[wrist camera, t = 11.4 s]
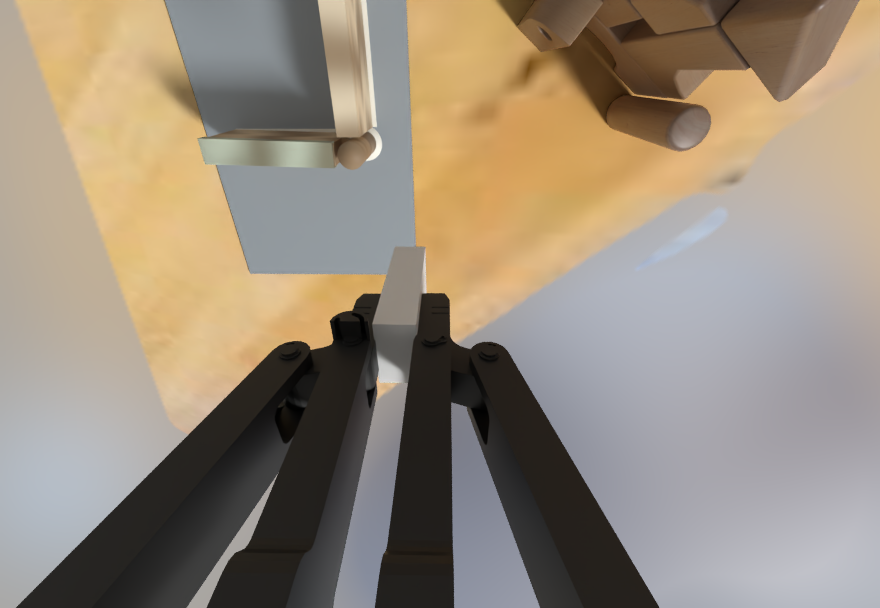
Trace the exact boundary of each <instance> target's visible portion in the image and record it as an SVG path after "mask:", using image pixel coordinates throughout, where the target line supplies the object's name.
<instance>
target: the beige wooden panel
mask: <svg viewBox="0 0 880 608" xmlns="http://www.w3.org/2000/svg"><path fill="white" fill-rule="evenodd" d="M318 5H319V12H320V19H321V27H322V34H323V41H324V48H325V55H326V63H327V70H328V77H329V84H330V91H331V98H332V106H333V113H334V120H335V127H336V134H337V137H352V138H350V139H349V140H347V141H346V142H345V143H343V144H342V145H341V146H340V147H339V149H338V159H339V162H340V163H341V165H342V166H344V167H345V168H347V169H350V170H355V169H358V168H359V167H360V166H361V165H362V164H363V163H364V162H365V161H366V160H367V159H368V158H369V157H370V155H371V154H372V153H373V152H374V151H375V149H376V140H375V138H374V136H373V135H372V134H371V133H369V132H367V131H368V130H370V129H371V128H372V127H373V125H372V114H371V103H370V92H369V81H368V70H367V58H366V47H365V36H364V25H363V14H362V3H361V0H318Z"/></svg>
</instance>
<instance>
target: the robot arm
mask: <svg viewBox="0 0 880 608" xmlns="http://www.w3.org/2000/svg"><path fill="white" fill-rule="evenodd" d="M330 324H331V329H332V334H333V339H334V340H333V343H332V345H329V346H327V347H323V348H318V349H314V350H310V347H309V346H308V344H307V343H304V342H301V341H292V342H287V343H284V344H282V345H279V346H278V347H277V348H275V349H274V350H273V351H272V352H271V353H270V354H269V355H268V356H267V357H266V358H265V359H264V360H263V361H262V362H261V363H260V364H259V365H258V366H257V367H256V368H255V369H254V370H253V371H252V372H251V373H250V374H249V375H248V376H247V377H246V378H245V379H244V380H243V381H242V382H241V383H240V384H239V385H238V386H237V387H236V388H235V389H234V390H233V391H232V392H231V393H230V394H229V395H228V396H227V397H226V398H225V399H224V400H223V401H222V402H221V403H220V404H219V405H218V406H217V407H216V408H215V409H214V410H213V411H212V412H211V413H210V414H209V415H208V416H207V417H206V418H205V419H204V420H203V421H202V422H201V423H200V424H199V425H198V426H197V427H196V428H195V429H194V430H193V431H192V432H191V433H190V434H189V435H188V436H187V437H186V438H185V439H184V440H183V441H182V442H181V443H180V444H179V445H178V446H177V447H176V448H175V449H174V450H173V451H172V452H171V453H170V454H169V455H168V456H167V457H166V458H165V459H164V460H163V461H162V462H161V463H160V464H159V465H158V466H157V467H156V468H155V469H154V470H153V471H152V472H151V473H150V474H149V475H148V476H147V477H146V478H145V479H144V480H143V481H142V482H141V483H140V484H139V485H138V486H137V487H136V488H135V489H134V490H133V491H132V492H131V493H130V494H129V495H128V496H127V497H126V498H125V499H124V500H123V501H122V502H121V503H120V504H119V505H118V506H117V507H116V508H115V509H114V510H113V511H112V512H111V513H110V514H109V515H108V516H107V517H106V518H105V519H104V520H103V521H102V522H101V523H100V524H99V525H98V526H97V527H96V528H95V529H94V530H93V531H92V532H91V533H90V534H89V535H88V536H87V537H86V538H85V539H84V540H83V541H82V542H81V543H80V544H79V545H78V546H77V547H76V548H75V549H74V550H73V551H72V552H71V553H70V554H69V555H68V556H67V557H66V558H65V559H64V560H63V561H62V562H61V563H60V564H59V565H58V566H57V567H56V568H55V569H54V570H53V571H52V572H51V573H50V574H49V575H48V576H47V577H46V578H45V579H44V580H43V581H42V582H41V583H40V584H39V585H38V586H37V587H36V588H35V589H34V590H33V591H32V592H31V593H30V594H29V595H28V596H27V597H26V598H25V599H24V600H23V601H22V602H21V603H20V604H19V605H18V606H17V607H16V608H186V607H187V606H188V605H189V603H190V602H191V600H192V599H193V597H194V596H195V594H196V593H197V591H198V590H199V588H200V587H201V586H202V584H203V582H204V581H205V580H206V578H207V576H208V575H209V574H210V572H211V571H212V569H213V568H214V566H215V565H216V563H217V562H218V561H219V559H220V557H221V556H222V555H223V553H224V552H225V550H226V549H227V547H228V546H229V544H230V543H231V541H232V540H233V538H234V537H235V536H236V534H237V532H238V531H239V530H240V528H241V527H242V525H243V524H244V522H245V521H246V519H247V518H248V516H249V515H250V513H251V512H252V510H253V509H254V508H255V506H256V505H257V503H258V502H259V500H260V499H261V497H262V496H263V494H264V493H265V491H266V490H267V488H268V487H269V486H270V484H271V483H272V481H273V480H274V478H275V477H276V475H277V474H278V475H277V478H276V480H275V483H274V485H273V487H272V490H271V492H270V495H269V497H268V499H267V502H266V504H265V507H264V509H263V512H262V514H261V516H260V519H259V521H258V524H257V526H256V528H255V531H254V533H253V536H252V538H251V540H250V542H249V544H248V545H247V546H246V548H245V549H243V550H241V551H239V552H236V553H235V554H234V555H233V556H232V557H231V559H230V560H229V561H228V563H227V565H226V567H225V569H224V571H223V572H222V575H221V577H220V579H219V581H218V583H217V586H216V588H215V590H214V592H213V595H212V597H211V599H210V602H209V604H208V606H207V608H333V604H334V596H335V591H336V586H337V581H338V577H339V572H340V567H341V563H342V558H343V553H344V548H345V544H346V539H347V534H348V529H349V525H350V520H351V515H352V511H353V506H354V501H355V496H356V491H357V487H358V482H359V477H360V472H361V467H362V463H363V458H364V453H365V449H366V444H367V439H368V435H369V430H370V425H371V420H372V415H373V411H374V406H375V401H376V397H377V384H376V381H377V377H378V376H379V383H408V387H407V395H406V403H405V411H404V418H403V426H402V434H401V442H400V451H399V459H398V466H397V474H396V481H395V490H394V497H393V505H392V513H391V521H390V529H389V537H388V544H387V549H386V551H385V553H384V554H383V558H382V562H381V568H380V574H379V581H378V588H377V596H376V603H375V608H454V573H453V572H454V568H453V545H452V544H453V540H452V539H453V537H452V448H451V447H452V446H451V445H452V442H451V402H453V403H456V404H460V405H463V406H466V407H467V411H468V414H469V416H470V419H471V422H472V424H473V427H474V430H475V432H476V435H477V438H478V441H479V443H480V446H481V449H482V452H483V454H484V457H485V459H486V462H487V465H488V468H489V470H490V473H491V476H492V478H493V481H494V484H495V486H496V489H497V492H498V495H499V498H500V500H501V503H502V506H503V508H504V511H505V514H506V516H507V519H508V522H509V525H510V527H511V530H512V532H513V535H514V538H515V541H516V543H517V546H518V549H519V552H520V554H521V557H522V560H523V562H524V565H525V568H526V571H527V573H528V576H529V579H530V581H531V584H532V587H533V589H534V592H535V595H536V598H537V600H538V603H539V606H540V608H659V606H658V604H657V603H656V601H655V599H654V598H653V596H652V594H651V592H650V591H649V589H648V587H647V586H646V584H645V582H644V581H643V579H642V577H641V576H640V574H639V572H638V571H637V569H636V567H635V566H634V564H633V562H632V560H631V559H630V557H629V555H628V554H627V552H626V550H625V549H624V547H623V545H622V544H621V542H620V540H619V538H618V537H617V535H616V533H615V532H614V530H613V528H612V527H611V525H610V523H609V522H608V520H607V519H606V517H605V515H604V513H603V512H602V510H601V508H600V506H599V505H598V503H597V501H596V500H595V498H594V496H593V495H592V493H591V491H590V489H589V488H588V486H587V484H586V483H585V481H584V479H583V478H582V476H581V474H580V473H579V471H578V469H577V467H576V466H575V464H574V463H573V461H572V459H571V457H570V456H569V454H568V452H567V451H566V449H565V447H564V446H563V444H562V442H561V440H560V439H559V437H558V435H557V434H556V432H555V430H554V429H553V427H552V425H551V424H550V422H549V420H548V419H547V417H546V415H545V413H544V412H543V410H542V408H541V407H540V405H539V403H538V402H537V400H536V398H535V397H534V395H533V393H532V391H531V390H530V388H529V386H528V385H527V383H526V381H525V380H524V378H523V376H522V375H521V373H520V371H519V370H518V368H517V366H516V364H515V363H514V361H513V359H512V358H511V356H510V354H509V353H508V351H507V350H506V349H505V348H504V347H503V346H501V345H499V344H497V343H493V342H482V343H478V344H476V345H475V346H473V347H472V348H471V349H467V348H464V347H461V346H459V345H457V344H456V343H454V342H453V341H452V339H451V337H450V301H449V299H448V297H447V296H446V295H445V293H426V253H425V247H395V248H394V252H393V255H392V258H391V262H390V265H389V269H388V272H387V275H386V279H385V282H384V286H383V289H382V293H381V294H363V295H362V296H361V297H359V298H358V299H357V300H356V303H355V305H354V308H353V310H352V311H346V312H342V313H339V314H337V315H336V316H334V317H333V318H332V319H331V320H330ZM278 472H279V473H278Z"/></svg>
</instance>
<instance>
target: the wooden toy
mask: <svg viewBox="0 0 880 608" xmlns="http://www.w3.org/2000/svg"><path fill="white" fill-rule="evenodd" d="M858 2H859V0H535V1H534V3H533V4H532V6H531V7H530V9H529V10H528V11H527V13H526V14H525V16H524V17H523V19H522V20H521V22H520V23H519V24H518V26H517V27H518V28H519V30H520V31H521V32H522V33H523V34H524V35H525V36H526V37H527V38H528V39H529V40H530V41H531V42H532V43H533V44H534V45H535V46H536V47H537V48H538V49H539V50H540V51H541V52H543V51H548V50H553V49H558V48H563V47H568V46H570V45H571V44H572V43H573V42H574V40H575V39H576V38H577V36H578V35H579V34H580V33H581V31H582V30H583V29H584V28H585V27H586V28H587V29H589V30H590V31H591V32H592V33H593V34H594V35H595V36H596V37H597V38H598V39H599V40H600V41H601V42H602V43H603V44H604V45H605V46H606V48H607V49H608V50H609V51H610V53H611V54H612V55H613V57H614V59H615V61H616V66H615V67H614V71H615V73H616V74H617V75H618V76H619V77H620V78H621V79H622V80H623V81H624V82H625V84H626V85H627V86H628V87H629V88H630V89H631V90H632V91H633V92H634V94H637V95H645V96H653V97H661V98H674V99H682V100H684V99H686V98H687V97H688V96H689V95H690V94H691V93H692V92H693V91H694V90H695V89H696V88H697V87H698V86H699V85H700V84H701V83H702V82H703V81H704V80H705V79H706V78H707V77H708V76H709V75H710V74H711V73H712V72H713V71H714V70H747V69H748V68H750V67H751V68H752V69H753V71H754V72H755V73H756V75H757V76H758V77H759V79H760V80H761V82H762V83H763V84H764V86H765V87H766V88H767V90H768V91H769V92H770V94H771V95H772V96H773V98H774V99H775V100H777V101H779V102H780V101H783V100H787V99H788V98H789V97H791V96H792V95H793V94H794V93H795V92H796V91H797V90H798V89H800V88H801V87H802V86H803V85H804V84H805V83H806V82H807V81H808V80H810V79H811V78H812V77H813V76H814V75H815V74H816V73H817V72H818V71H820V70H821V69H822V68H823V67H824V66H825V65H826V63H827V61H828V59H829V57H830V56H831V54H832V52H833V50H834V48H835V46H836V44H837V42H838V40H839V38H840V36H841V35H842V33H843V31H844V29H845V27H846V25H847V23H848V21H849V19H850V17H851V15H852V13H853V12H854V10H855V8H856V6H857V4H858ZM606 120H607V123H608V125H609V126H610V127H611V128H612V129H614V130H617V131H620V132H623V133H625V134H628V135H631V136H634V137H637V138H640V139H643V140H646V141H648V142H651V143H654V144H657V145H660V146H663V147H666V148H668V149H671V150H675V151H686V150H689V149H691V148H693V147H695V146H696V145H698V144H699V143H700V142H701V141H702V140H703V139H704V138H705V137H706V135H707V133H708V131H709V129H710V125H711V117H710V114H709V112H708V110H707V109H706V108H704V107H703V106H701V105H696V104H689V103H682V102H674V101H667V100H659V99H652V98H644V97H637V96H629V95H625V96H621V97H619V98H617V99H615V100H614V101H613V102H612V103H611V105H610V106H609V108H608V111H607V115H606Z"/></svg>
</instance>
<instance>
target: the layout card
mask: <svg viewBox="0 0 880 608" xmlns="http://www.w3.org/2000/svg"><path fill="white" fill-rule="evenodd" d="M165 3H166V6H167V9H168V12H169V15H170V18H171V22H172V25H173V28H174V31H175V34H176V38H177V41H178V44H179V47H180V50H181V54H182V57H183V60H184V63H185V66H186V70H187V73H188V76H189V79H190V82H191V85H192V89H193V92H194V95H195V98H196V101H197V105H198V108H199V111H200V114H201V117H202V121H203V124H204V127H205V130H206V133H207V137H210V136H213V135H217V134H221V133H224V132H228V131H232V130H235V129H240V130H272V131H303V132H335V133H336V127H335V120H334V113H333V106H332V98H331V91H330V84H329V77H328V70H327V63H326V55H325V48H324V41H323V34H322V27H321V19H320V12H319V5H318V0H165ZM361 3H362V14H363V25H364V36H365V47H366V58H367V70H368V81H369V92H370V103H371V114H372V125H373V127H372V128H371V129H370V130H368V131H367V132H369V133H371V134H372V135H373V136H374V138H375V140H376V149H375V151H374V152H373V153H372V154H371V155H370V157H369V158H368V159H367V160H366V161H365V162H364V163H363V164H362V165H361V166H360V167H359V168H358V169H355V170H350V169H347V168H345V167H344V166H342V165H341V163H339V164H338V165H337V167H336V168H306V167H274V166H242V165H217V168H218V172H219V175H220V178H221V181H222V184H223V188H224V191H225V194H226V197H227V200H228V204H229V207H230V210H231V213H232V216H233V220H234V223H235V226H236V229H237V232H238V235H239V239H240V242H241V245H242V248H243V251H244V255H245V258H246V261H247V264H248V267H249V271H250V274H387V272H388V269H389V265H390V262H391V258H392V255H393V252H394V248H395V247H416V238H415V213H414V187H413V161H412V135H411V109H410V83H409V57H408V32H407V6H406V0H361ZM349 138H352V137H349Z"/></svg>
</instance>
